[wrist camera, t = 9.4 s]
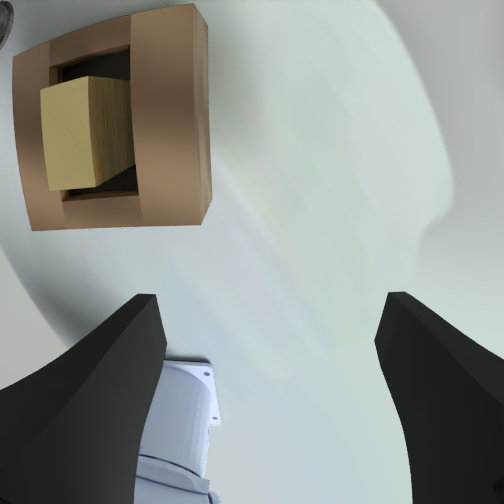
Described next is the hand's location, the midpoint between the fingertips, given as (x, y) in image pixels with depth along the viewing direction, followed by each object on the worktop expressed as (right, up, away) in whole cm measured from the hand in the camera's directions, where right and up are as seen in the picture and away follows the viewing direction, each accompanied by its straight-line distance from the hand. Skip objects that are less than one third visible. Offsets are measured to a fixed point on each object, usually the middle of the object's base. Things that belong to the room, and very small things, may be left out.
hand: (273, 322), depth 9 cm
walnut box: (-8, +10, +6) cm, 14 cm away
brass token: (-8, +9, +6) cm, 14 cm away
